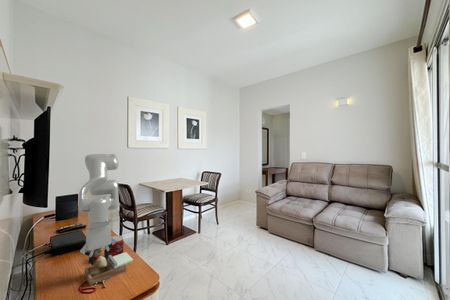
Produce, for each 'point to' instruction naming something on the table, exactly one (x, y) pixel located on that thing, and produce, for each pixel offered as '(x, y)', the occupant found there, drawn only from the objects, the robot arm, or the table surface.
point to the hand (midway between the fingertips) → (99, 260)
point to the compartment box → (102, 272)
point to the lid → (119, 259)
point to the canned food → (117, 246)
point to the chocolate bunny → (99, 259)
